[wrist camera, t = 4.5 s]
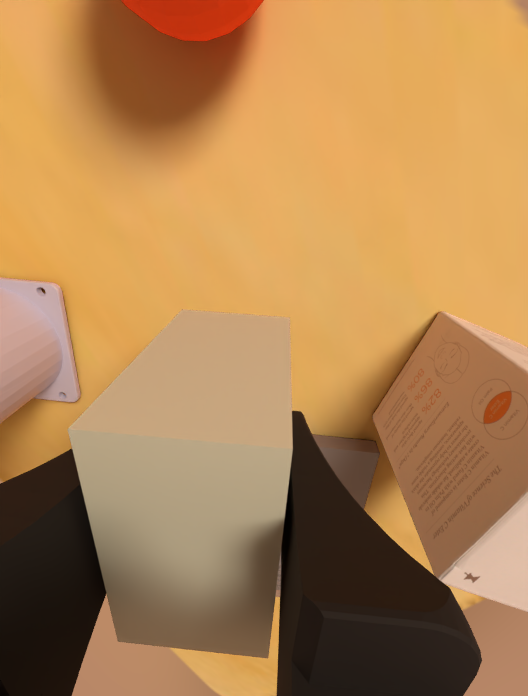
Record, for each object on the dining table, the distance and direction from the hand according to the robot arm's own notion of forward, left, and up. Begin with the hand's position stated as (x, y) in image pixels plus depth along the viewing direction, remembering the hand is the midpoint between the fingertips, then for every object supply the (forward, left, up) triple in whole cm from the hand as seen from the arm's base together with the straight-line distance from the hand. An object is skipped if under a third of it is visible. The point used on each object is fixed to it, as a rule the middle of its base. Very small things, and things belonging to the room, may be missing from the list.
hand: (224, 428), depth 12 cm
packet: (0, 0, -2) cm, 2 cm away
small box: (+12, -2, -9) cm, 15 cm away
